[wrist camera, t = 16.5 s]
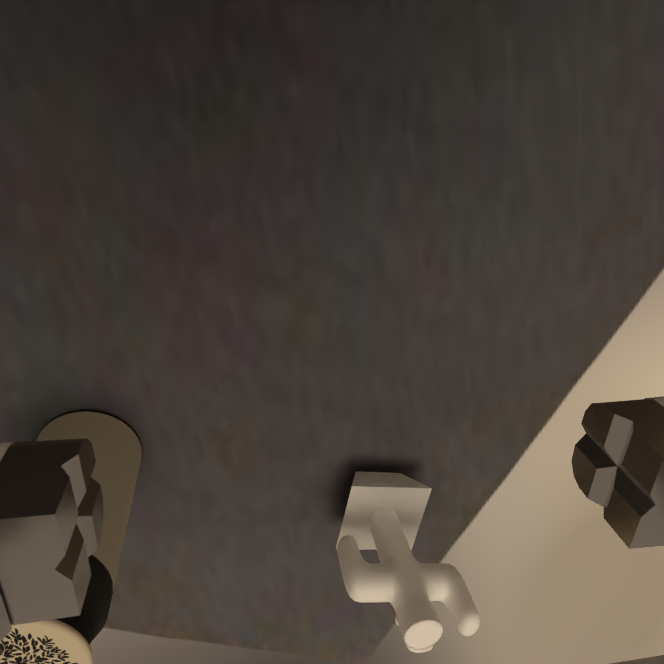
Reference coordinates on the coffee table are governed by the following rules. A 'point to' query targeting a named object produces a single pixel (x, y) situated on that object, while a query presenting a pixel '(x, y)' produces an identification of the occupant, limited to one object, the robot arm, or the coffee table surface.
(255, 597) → the coffee table surface
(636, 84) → the coffee table surface
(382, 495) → the figurine
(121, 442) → the travel mug
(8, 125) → the coffee table surface
